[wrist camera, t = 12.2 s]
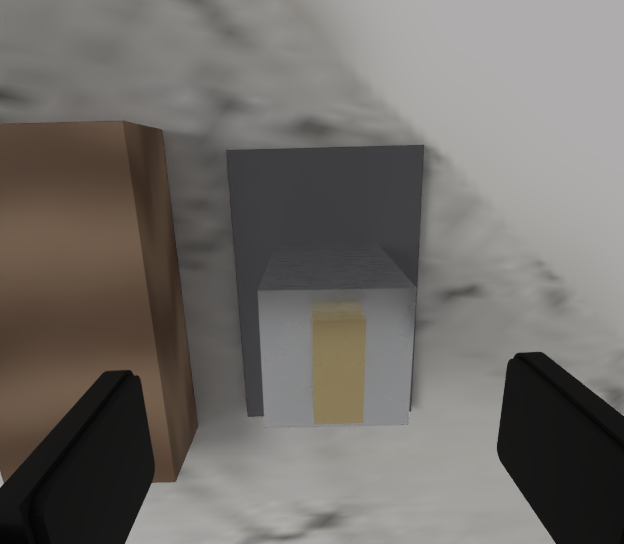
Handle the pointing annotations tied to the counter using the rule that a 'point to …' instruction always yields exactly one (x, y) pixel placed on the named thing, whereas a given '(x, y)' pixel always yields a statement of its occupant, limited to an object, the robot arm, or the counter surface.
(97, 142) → the brown knobbed block
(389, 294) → the lever cap
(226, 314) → the counter surface
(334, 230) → the rubber mat
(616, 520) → the robot arm
